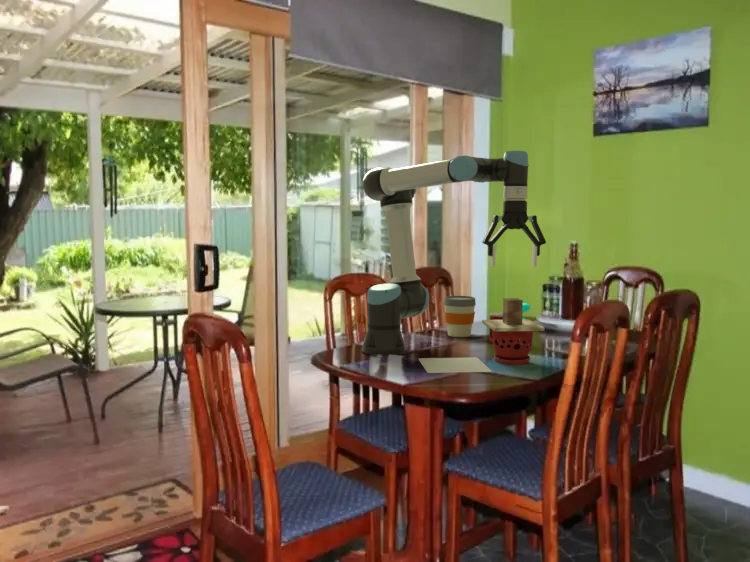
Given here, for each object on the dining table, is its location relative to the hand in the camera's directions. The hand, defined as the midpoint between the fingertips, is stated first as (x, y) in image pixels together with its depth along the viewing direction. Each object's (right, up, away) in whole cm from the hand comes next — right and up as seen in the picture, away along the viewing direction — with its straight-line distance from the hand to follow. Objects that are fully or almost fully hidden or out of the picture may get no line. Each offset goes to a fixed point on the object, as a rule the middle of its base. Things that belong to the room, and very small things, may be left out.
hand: (513, 266), depth 219 cm
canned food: (+2, -28, +36) cm, 46 cm away
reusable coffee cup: (-11, -26, +51) cm, 59 cm away
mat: (-20, -32, -2) cm, 38 cm away
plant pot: (0, -32, +3) cm, 32 cm away
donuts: (+16, -24, +71) cm, 76 cm away
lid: (0, -20, +2) cm, 20 cm away
